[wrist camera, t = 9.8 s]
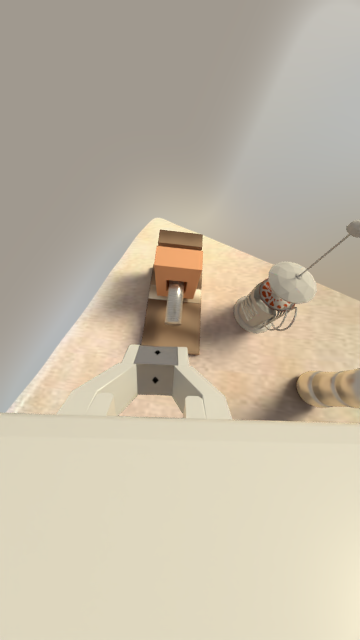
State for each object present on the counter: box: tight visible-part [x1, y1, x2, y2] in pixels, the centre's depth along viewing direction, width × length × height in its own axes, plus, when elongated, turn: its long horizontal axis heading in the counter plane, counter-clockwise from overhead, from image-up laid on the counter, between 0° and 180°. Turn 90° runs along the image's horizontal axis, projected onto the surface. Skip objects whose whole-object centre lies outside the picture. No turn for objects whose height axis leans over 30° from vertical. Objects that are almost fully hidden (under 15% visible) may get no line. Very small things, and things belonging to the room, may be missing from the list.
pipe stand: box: [141, 230, 203, 355], centre depth 35 cm, size 21×12×12 cm, turn 176°
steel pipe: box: [165, 280, 184, 326], centre depth 35 cm, size 15×3×3 cm, turn 176°
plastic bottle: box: [297, 368, 360, 409], centre depth 27 cm, size 6×7×20 cm
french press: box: [234, 220, 360, 333], centre depth 30 cm, size 10×12×25 cm
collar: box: [154, 246, 203, 299], centre depth 35 cm, size 4×8×10 cm, turn 86°
